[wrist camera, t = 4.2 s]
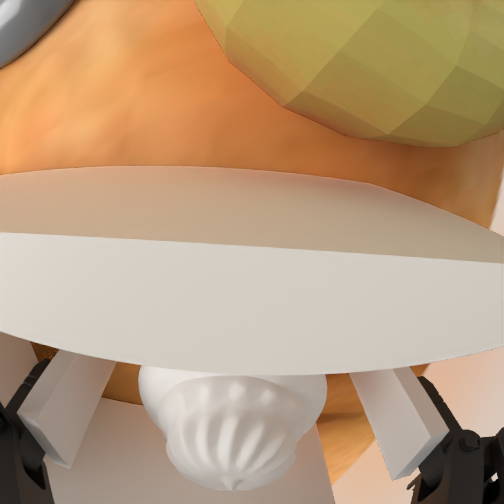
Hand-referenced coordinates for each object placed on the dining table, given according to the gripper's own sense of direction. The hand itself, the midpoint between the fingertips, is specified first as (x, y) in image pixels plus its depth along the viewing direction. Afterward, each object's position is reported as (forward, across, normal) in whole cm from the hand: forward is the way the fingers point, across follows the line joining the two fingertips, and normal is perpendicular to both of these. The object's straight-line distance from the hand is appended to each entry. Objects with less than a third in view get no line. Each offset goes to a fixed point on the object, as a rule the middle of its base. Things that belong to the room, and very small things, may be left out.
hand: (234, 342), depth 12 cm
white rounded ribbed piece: (0, 0, 0) cm, 0 cm away
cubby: (0, -4, 0) cm, 4 cm away
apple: (0, +3, +13) cm, 13 cm away
